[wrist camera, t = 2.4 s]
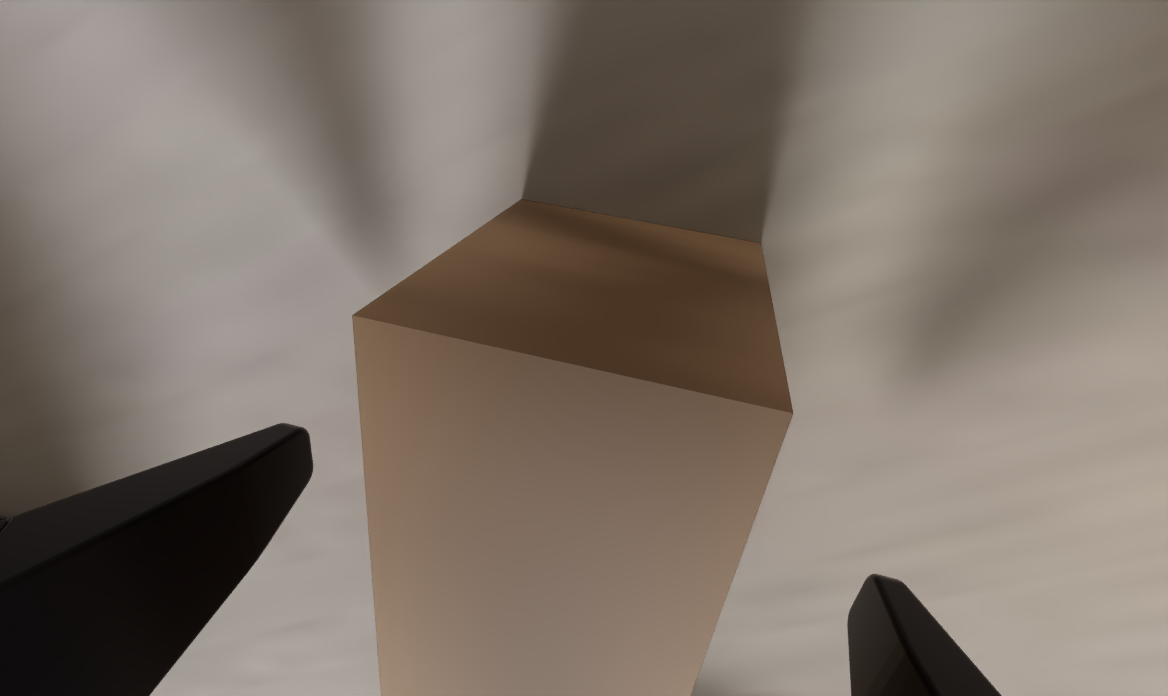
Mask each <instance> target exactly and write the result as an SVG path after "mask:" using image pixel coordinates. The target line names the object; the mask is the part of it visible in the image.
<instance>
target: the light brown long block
mask: <svg viewBox="0 0 1168 696" xmlns="http://www.w3.org/2000/svg"><path fill="white" fill-rule="evenodd" d="M352 318H353V331H354V344H355V357H356V371H357V384H358V397H359V410H360V423H361V437H362V450H363V463H364V476H365V490H366V503H367V516H368V529H369V542H370V556H371V569H372V582H373V595H374V609H375V622H376V635H377V648H378V661H379V675H380V688H381V696H690V695H691V693H692V690H693V687H694V684H695V682H696V679H697V676H698V673H699V671H700V668H701V665H702V662H703V660H704V657H705V654H706V651H707V649H708V646H709V643H710V640H711V638H712V635H713V632H714V630H715V627H716V624H717V621H718V619H719V616H720V613H721V610H722V608H723V605H724V602H725V599H726V597H727V594H728V591H729V588H730V586H731V583H732V580H733V577H734V575H735V572H736V569H737V566H738V564H739V561H740V558H741V555H742V553H743V550H744V547H745V544H746V542H747V539H748V536H749V533H750V531H751V528H752V525H753V522H754V520H755V517H756V514H757V511H758V509H759V506H760V503H761V500H762V498H763V495H764V492H765V490H766V487H767V484H768V481H769V479H770V476H771V473H772V470H773V468H774V465H775V462H776V459H777V457H778V454H779V451H780V448H781V446H782V443H783V440H784V437H785V435H786V432H787V429H788V426H789V424H790V421H791V418H792V415H793V410H792V404H791V399H790V394H789V388H788V383H787V378H786V373H785V367H784V362H783V357H782V351H781V346H780V341H779V336H778V330H777V325H776V320H775V314H774V309H773V304H772V299H771V293H770V288H769V283H768V277H767V272H766V267H765V262H764V256H763V251H762V246H761V243H756V242H751V241H745V240H740V239H735V238H729V237H724V236H718V235H713V234H707V233H702V232H697V231H691V230H686V229H680V228H675V227H669V226H664V225H659V224H653V223H648V222H642V221H637V220H632V219H626V218H621V217H615V216H610V215H604V214H599V213H594V212H588V211H583V210H577V209H572V208H566V207H561V206H556V205H550V204H545V203H539V202H534V201H528V200H523V199H521V200H520V201H518V202H517V203H515V204H514V205H512V206H511V207H509V208H508V209H507V210H505V211H504V212H502V213H501V214H499V215H498V216H496V217H495V218H493V219H492V220H491V221H489V222H488V223H486V224H485V225H483V226H482V227H480V228H479V229H477V230H476V231H474V232H473V233H472V234H470V235H469V236H467V237H466V238H464V239H463V240H461V241H460V242H458V243H457V244H456V245H454V246H453V247H451V248H450V249H448V250H447V251H445V252H444V253H442V254H441V255H440V256H438V257H437V258H435V259H434V260H432V261H431V262H429V263H428V264H426V265H425V266H423V267H422V268H421V269H419V270H418V271H416V272H415V273H413V274H412V275H410V276H409V277H407V278H406V279H405V280H403V281H402V282H400V283H399V284H397V285H396V286H394V287H393V288H391V289H390V290H388V291H387V292H386V293H384V294H383V295H381V296H380V297H378V298H377V299H375V300H374V301H372V302H371V303H370V304H368V305H367V306H365V307H364V308H362V309H361V310H359V311H358V312H356V313H355V314H354V315H352Z"/></svg>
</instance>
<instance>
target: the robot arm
mask: <svg viewBox="0 0 1168 696" xmlns="http://www.w3.org/2000/svg"><path fill="white" fill-rule="evenodd" d="M312 472H313V459H312V452H311V444H310V436H309V433H308V431H307V430H306V429H304V428H303V427H299V426H295V425H291V424H287V423H280V424H277V425H274V426H271V427H268V428H266V429H263V430H260V431H257V432H254V433H251V434H248V435H245V436H243V437H240V438H237V439H234V440H231V441H228V442H225V443H223V444H220V445H217V446H214V447H211V448H208V449H205V450H202V451H200V452H197V453H194V454H191V455H188V456H185V457H182V458H179V459H177V460H174V461H171V462H168V463H165V464H162V465H159V466H157V467H154V468H151V469H148V470H145V471H142V472H139V473H136V474H134V475H131V476H128V477H125V478H122V479H119V480H116V481H113V482H111V483H108V484H105V485H102V486H99V487H96V488H93V489H91V490H88V491H85V492H82V493H79V494H76V495H73V496H70V497H68V498H65V499H62V500H59V501H56V502H53V503H50V504H47V505H45V506H42V507H39V508H36V509H33V510H30V511H27V512H25V513H22V514H19V515H16V516H14V517H13V518H12V519H11V520H9V519H4V520H1V521H0V696H149V695H150V694H151V693H152V692H153V690H154V689H155V688H156V687H157V685H158V684H159V683H160V682H161V680H162V679H163V678H164V677H165V675H166V674H167V673H168V672H169V670H170V669H171V668H172V667H173V665H174V664H175V663H176V662H177V660H178V659H179V658H180V657H181V655H182V654H183V653H184V652H185V650H186V649H187V648H188V647H189V645H190V644H191V643H192V642H193V640H194V639H195V638H196V637H197V635H198V634H199V633H200V632H201V630H202V629H203V628H204V627H205V625H206V624H207V623H208V622H209V620H210V619H211V618H212V617H213V615H214V614H215V613H216V611H217V610H218V609H219V608H220V606H221V605H222V604H223V603H224V601H225V600H226V599H227V598H228V596H229V595H230V594H231V593H232V591H233V590H234V589H235V588H236V586H237V585H238V584H239V583H240V581H241V580H242V579H243V578H244V576H245V575H246V574H247V573H248V571H249V570H250V569H251V567H252V566H253V565H254V563H255V562H256V561H257V560H258V558H259V557H260V555H261V554H262V552H263V551H264V550H265V548H266V547H267V545H268V544H269V542H270V541H271V539H272V537H273V536H274V534H275V533H276V531H277V530H278V528H279V527H280V525H281V524H282V522H283V521H284V519H285V517H286V516H287V514H288V513H289V511H290V510H291V508H292V507H293V505H294V504H295V502H296V501H297V499H298V497H299V496H300V494H301V493H302V491H303V490H304V488H305V487H306V485H307V484H308V482H309V480H310V478H311V476H312ZM848 644H849V662H850V680H851V696H1001V694H1000V693H999V692H998V691H997V690H996V689H995V687H994V686H993V685H992V684H991V683H990V682H989V681H988V679H987V678H986V677H985V676H984V675H983V674H982V672H981V671H980V670H979V669H978V668H977V667H976V666H975V664H974V663H973V662H972V661H971V660H970V659H969V657H968V656H967V655H966V654H965V653H964V652H963V651H962V649H961V648H960V647H959V646H958V645H957V644H956V642H955V641H954V640H953V639H952V638H951V637H950V636H949V634H948V633H947V632H946V631H945V630H944V629H943V627H942V626H941V625H940V624H939V623H938V622H937V621H936V619H935V618H934V617H933V616H932V615H931V614H930V612H929V611H928V610H927V609H926V608H925V607H924V606H923V604H922V603H921V602H920V601H919V600H918V599H917V597H916V596H915V595H914V594H913V593H912V592H911V591H910V589H909V588H908V587H907V586H906V585H905V584H904V583H903V582H901V581H900V580H897V579H894V578H890V577H886V576H882V575H878V574H872V575H870V576H868V577H867V579H866V580H865V582H864V584H863V586H862V588H861V590H860V592H859V593H858V595H857V597H856V599H855V601H854V603H853V605H852V607H851V609H850V612H849V615H848Z"/></svg>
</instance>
